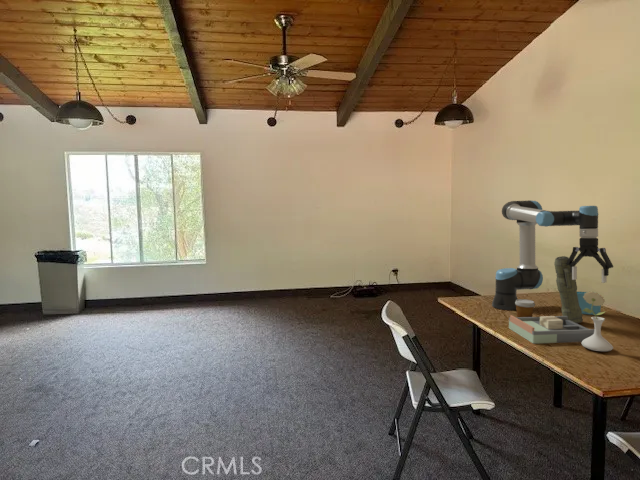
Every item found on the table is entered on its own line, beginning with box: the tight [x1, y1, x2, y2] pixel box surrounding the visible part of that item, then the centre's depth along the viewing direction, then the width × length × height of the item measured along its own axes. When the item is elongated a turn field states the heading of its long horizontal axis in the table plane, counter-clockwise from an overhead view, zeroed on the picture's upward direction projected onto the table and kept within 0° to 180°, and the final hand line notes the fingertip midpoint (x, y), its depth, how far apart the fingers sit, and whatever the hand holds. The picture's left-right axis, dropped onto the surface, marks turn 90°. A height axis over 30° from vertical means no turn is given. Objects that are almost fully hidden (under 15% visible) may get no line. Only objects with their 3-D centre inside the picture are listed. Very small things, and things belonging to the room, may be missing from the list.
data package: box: [577, 291, 602, 316], centre depth 224 cm, size 12×4×12 cm, turn 69°
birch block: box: [539, 315, 563, 329], centre depth 191 cm, size 7×7×4 cm
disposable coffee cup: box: [515, 298, 536, 317], centre depth 209 cm, size 10×10×12 cm
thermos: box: [553, 255, 584, 324], centre depth 207 cm, size 9×12×35 cm
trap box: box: [508, 314, 595, 344], centre depth 192 cm, size 22×30×7 cm
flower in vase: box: [580, 291, 614, 352], centre depth 172 cm, size 13×11×25 cm
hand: (588, 281), depth 192 cm, fingers open, 13 cm apart
